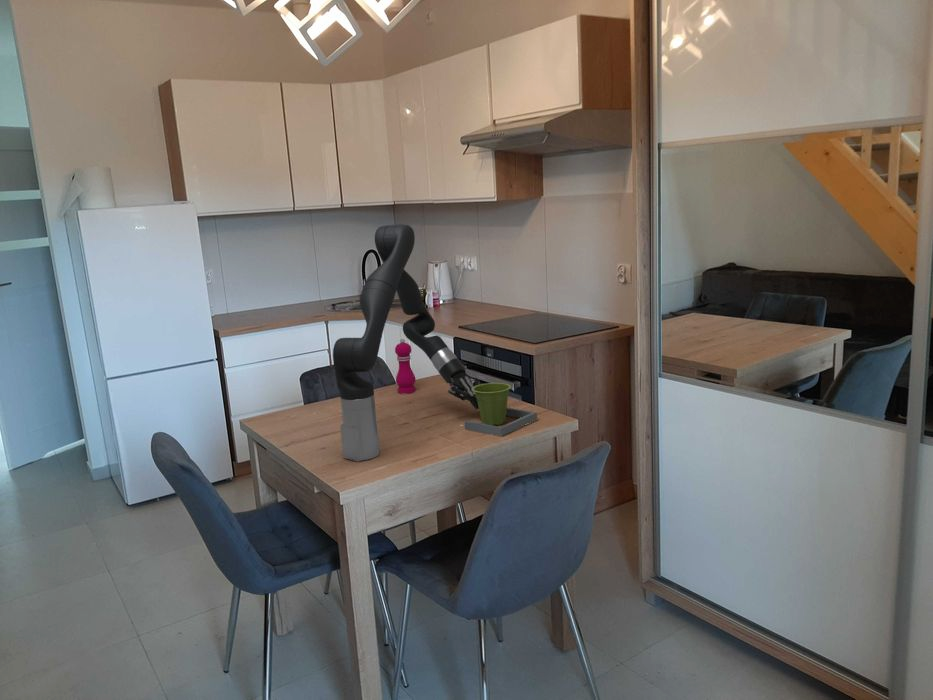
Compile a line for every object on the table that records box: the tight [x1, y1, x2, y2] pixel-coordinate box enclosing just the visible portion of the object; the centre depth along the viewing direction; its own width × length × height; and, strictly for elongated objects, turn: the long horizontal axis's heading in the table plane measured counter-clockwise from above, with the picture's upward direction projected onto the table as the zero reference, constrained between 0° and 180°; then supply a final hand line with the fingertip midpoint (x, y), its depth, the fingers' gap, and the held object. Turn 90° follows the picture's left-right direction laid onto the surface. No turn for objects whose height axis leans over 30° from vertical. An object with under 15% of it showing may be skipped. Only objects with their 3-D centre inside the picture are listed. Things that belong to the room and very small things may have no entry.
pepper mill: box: [394, 338, 417, 394], centre depth 262 cm, size 7×7×20 cm
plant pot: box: [472, 382, 512, 426], centre depth 220 cm, size 12×12×11 cm
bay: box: [463, 406, 538, 437], centre depth 218 cm, size 18×14×2 cm
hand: (479, 407), depth 223 cm, fingers closed
